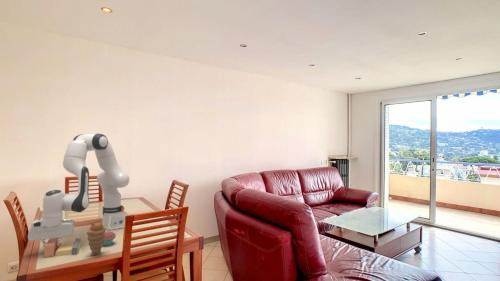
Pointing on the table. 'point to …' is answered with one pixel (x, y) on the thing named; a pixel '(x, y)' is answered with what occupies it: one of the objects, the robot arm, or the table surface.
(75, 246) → the yellow slab with bar
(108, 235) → the cupcake
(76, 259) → the table surface
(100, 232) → the cat ice cream
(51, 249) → the block
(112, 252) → the table surface
